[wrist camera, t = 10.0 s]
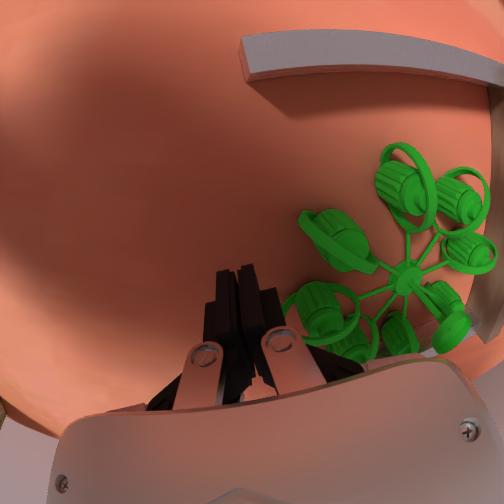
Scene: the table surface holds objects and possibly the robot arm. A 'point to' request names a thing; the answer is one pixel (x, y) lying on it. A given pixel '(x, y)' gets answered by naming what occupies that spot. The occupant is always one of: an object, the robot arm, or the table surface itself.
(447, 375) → the robot arm
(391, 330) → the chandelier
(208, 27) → the table surface
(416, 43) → the walnut bay
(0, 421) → the chalk box
